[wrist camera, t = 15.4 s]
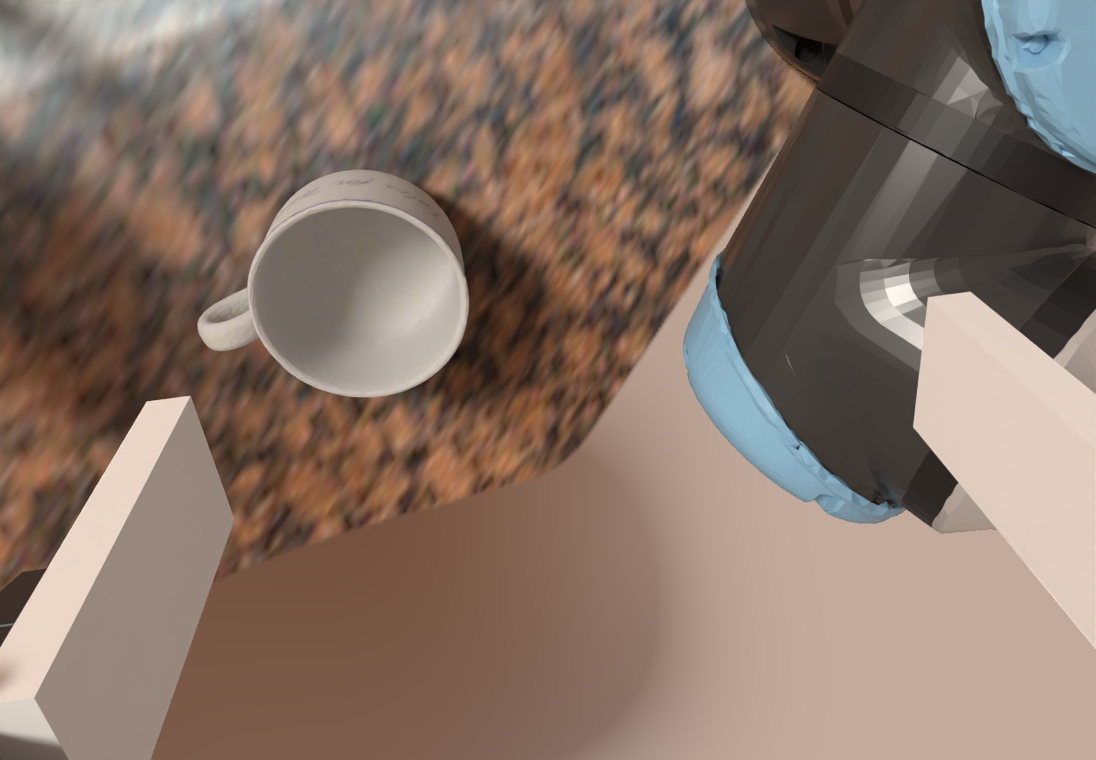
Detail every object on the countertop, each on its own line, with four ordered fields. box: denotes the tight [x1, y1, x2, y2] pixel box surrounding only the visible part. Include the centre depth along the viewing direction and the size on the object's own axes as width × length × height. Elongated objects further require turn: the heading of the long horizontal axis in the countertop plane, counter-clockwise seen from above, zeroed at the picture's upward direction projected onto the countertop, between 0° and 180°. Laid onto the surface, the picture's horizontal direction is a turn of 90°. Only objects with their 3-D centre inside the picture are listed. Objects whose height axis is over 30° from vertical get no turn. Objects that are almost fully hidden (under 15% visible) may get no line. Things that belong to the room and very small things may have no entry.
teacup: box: [198, 170, 469, 397], centre depth 47 cm, size 14×11×8 cm
